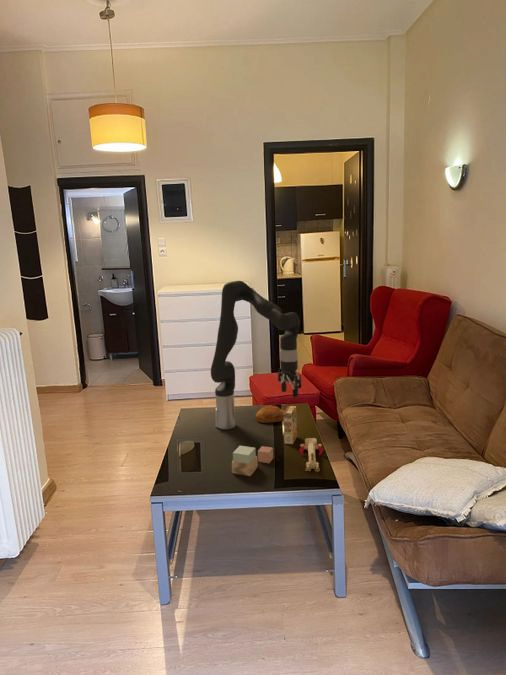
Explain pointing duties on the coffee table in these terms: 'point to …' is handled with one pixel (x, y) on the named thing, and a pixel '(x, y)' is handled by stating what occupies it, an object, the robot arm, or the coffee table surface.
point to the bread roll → (270, 414)
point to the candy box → (290, 425)
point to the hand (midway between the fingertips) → (289, 394)
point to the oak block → (244, 467)
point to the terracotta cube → (265, 454)
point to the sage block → (244, 454)
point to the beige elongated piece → (311, 453)
